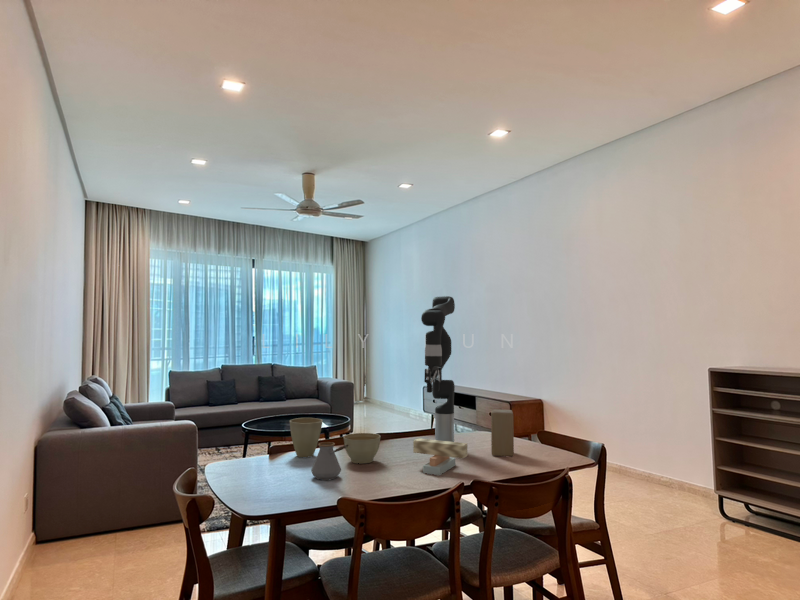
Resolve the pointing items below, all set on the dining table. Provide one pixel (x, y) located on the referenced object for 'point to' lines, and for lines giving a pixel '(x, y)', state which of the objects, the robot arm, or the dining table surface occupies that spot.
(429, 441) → the batten
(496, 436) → the wooden block
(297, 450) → the plant pot
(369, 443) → the planter bowl
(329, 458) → the coffee pot
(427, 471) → the fulcrum
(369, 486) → the dining table surface
